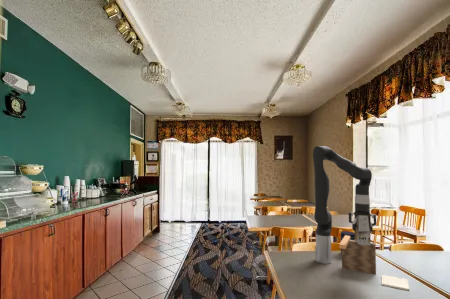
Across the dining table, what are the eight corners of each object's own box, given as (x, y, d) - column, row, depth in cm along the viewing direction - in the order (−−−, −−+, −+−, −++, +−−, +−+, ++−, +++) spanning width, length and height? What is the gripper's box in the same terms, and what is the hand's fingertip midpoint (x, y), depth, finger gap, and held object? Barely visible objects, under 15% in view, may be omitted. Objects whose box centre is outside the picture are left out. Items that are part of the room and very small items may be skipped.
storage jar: (355, 253, 195) (355, 232, 196) (356, 257, 186) (355, 235, 187) (340, 251, 199) (340, 230, 200) (340, 255, 190) (340, 233, 191)
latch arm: (339, 248, 148) (339, 244, 148) (345, 238, 168) (345, 235, 168) (345, 249, 146) (345, 245, 146) (350, 239, 167) (350, 236, 167)
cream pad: (381, 285, 142) (381, 283, 142) (381, 276, 154) (381, 274, 154) (409, 290, 136) (409, 289, 136) (407, 280, 148) (407, 279, 148)
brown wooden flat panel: (342, 268, 165) (341, 239, 166) (342, 266, 167) (342, 238, 169) (375, 274, 156) (375, 244, 157) (376, 272, 158) (375, 243, 159)
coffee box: (371, 245, 148) (371, 215, 149) (358, 244, 149) (358, 214, 150) (366, 241, 156) (366, 212, 157) (354, 240, 158) (354, 212, 159)
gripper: (347, 202, 155) (347, 231, 154) (376, 204, 147) (376, 235, 146) (349, 200, 161) (349, 228, 160) (376, 203, 154) (377, 232, 153)
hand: (362, 231), depth 153 cm, fingers closed on coffee box, 7 cm apart
